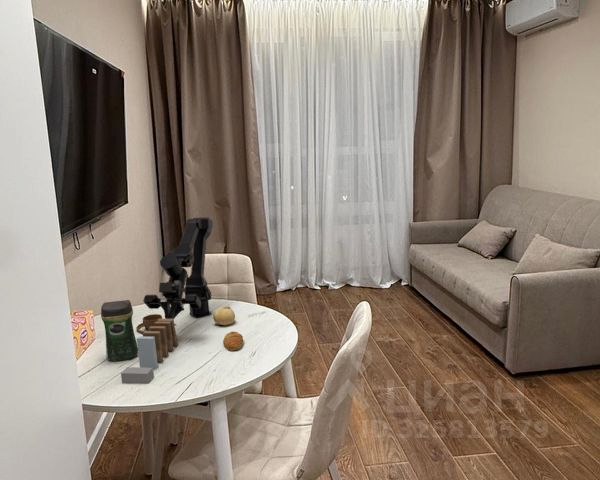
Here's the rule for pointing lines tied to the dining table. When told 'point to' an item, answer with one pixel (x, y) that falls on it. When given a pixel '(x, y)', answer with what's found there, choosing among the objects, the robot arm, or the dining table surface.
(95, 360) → the dining table surface
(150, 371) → the stop block
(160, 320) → the domino
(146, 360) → the domino
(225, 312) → the onion
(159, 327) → the domino
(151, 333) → the domino
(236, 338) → the pastry
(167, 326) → the domino
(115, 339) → the coffee jar
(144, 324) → the place setting
